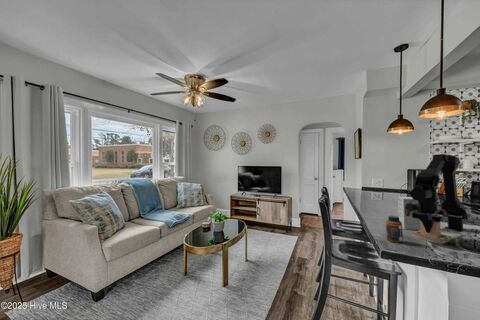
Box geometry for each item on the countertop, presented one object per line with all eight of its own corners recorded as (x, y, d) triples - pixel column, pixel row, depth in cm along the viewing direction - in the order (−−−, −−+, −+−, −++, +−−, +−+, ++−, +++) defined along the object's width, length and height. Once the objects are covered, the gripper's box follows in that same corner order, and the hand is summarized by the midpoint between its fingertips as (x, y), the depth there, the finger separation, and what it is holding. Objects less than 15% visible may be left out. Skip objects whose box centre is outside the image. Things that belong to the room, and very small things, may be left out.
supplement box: (404, 229, 111) (402, 198, 111) (398, 224, 119) (396, 196, 120) (426, 231, 107) (424, 199, 108) (418, 226, 115) (417, 196, 116)
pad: (435, 230, 108) (435, 229, 108) (462, 235, 99) (462, 234, 99) (426, 233, 104) (426, 231, 104) (453, 239, 95) (452, 237, 95)
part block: (425, 235, 99) (424, 219, 100) (441, 239, 94) (440, 222, 94) (420, 237, 98) (419, 220, 98) (437, 241, 92) (436, 223, 93)
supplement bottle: (406, 243, 90) (404, 218, 91) (390, 242, 91) (389, 217, 92) (398, 239, 96) (397, 215, 96) (384, 238, 97) (383, 214, 98)
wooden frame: (421, 233, 103) (421, 229, 103) (451, 240, 93) (450, 236, 93) (411, 236, 99) (411, 232, 99) (441, 244, 89) (441, 239, 89)
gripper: (418, 195, 108) (419, 225, 107) (398, 198, 100) (400, 230, 99) (446, 198, 98) (448, 230, 97) (426, 201, 90) (428, 237, 89)
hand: (430, 231), depth 96 cm, fingers closed on part block, 4 cm apart
